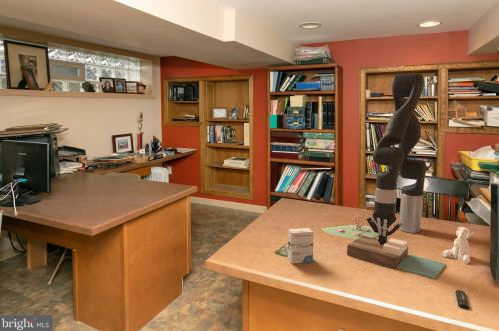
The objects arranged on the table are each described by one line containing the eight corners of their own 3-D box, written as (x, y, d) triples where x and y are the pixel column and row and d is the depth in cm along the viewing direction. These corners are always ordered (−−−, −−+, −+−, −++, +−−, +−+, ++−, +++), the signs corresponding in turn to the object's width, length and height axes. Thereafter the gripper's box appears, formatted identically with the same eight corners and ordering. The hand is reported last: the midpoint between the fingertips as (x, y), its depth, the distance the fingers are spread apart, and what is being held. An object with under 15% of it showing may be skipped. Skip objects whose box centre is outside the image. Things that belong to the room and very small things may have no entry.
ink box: (308, 256, 132) (309, 227, 130) (313, 262, 127) (314, 231, 125) (287, 258, 130) (287, 228, 128) (290, 263, 125) (291, 233, 124)
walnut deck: (362, 244, 143) (362, 235, 143) (407, 256, 132) (408, 246, 131) (346, 254, 133) (347, 245, 132) (394, 268, 121) (395, 258, 121)
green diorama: (328, 241, 149) (329, 221, 147) (318, 225, 169) (319, 207, 168) (386, 240, 149) (387, 220, 147) (369, 225, 169) (370, 207, 168)
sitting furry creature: (440, 256, 132) (443, 226, 130) (451, 250, 137) (453, 221, 135) (467, 264, 124) (471, 233, 122) (477, 258, 129) (481, 228, 127)
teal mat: (408, 255, 132) (408, 254, 132) (445, 265, 124) (445, 263, 124) (396, 268, 122) (396, 266, 122) (435, 279, 114) (435, 277, 113)
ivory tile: (390, 244, 133) (391, 238, 132) (407, 248, 129) (407, 242, 129) (382, 251, 126) (383, 245, 126) (399, 256, 122) (400, 249, 122)
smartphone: (273, 252, 135) (291, 239, 147) (273, 255, 135) (291, 242, 147) (290, 257, 130) (307, 243, 142) (290, 259, 130) (307, 246, 142)
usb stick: (469, 311, 96) (469, 306, 96) (458, 309, 97) (458, 303, 97) (465, 295, 105) (465, 290, 104) (455, 293, 106) (455, 288, 105)
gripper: (407, 201, 126) (404, 246, 129) (372, 195, 135) (369, 237, 137) (400, 205, 120) (396, 252, 123) (363, 198, 129) (361, 242, 132)
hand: (382, 244), depth 130 cm, fingers closed
